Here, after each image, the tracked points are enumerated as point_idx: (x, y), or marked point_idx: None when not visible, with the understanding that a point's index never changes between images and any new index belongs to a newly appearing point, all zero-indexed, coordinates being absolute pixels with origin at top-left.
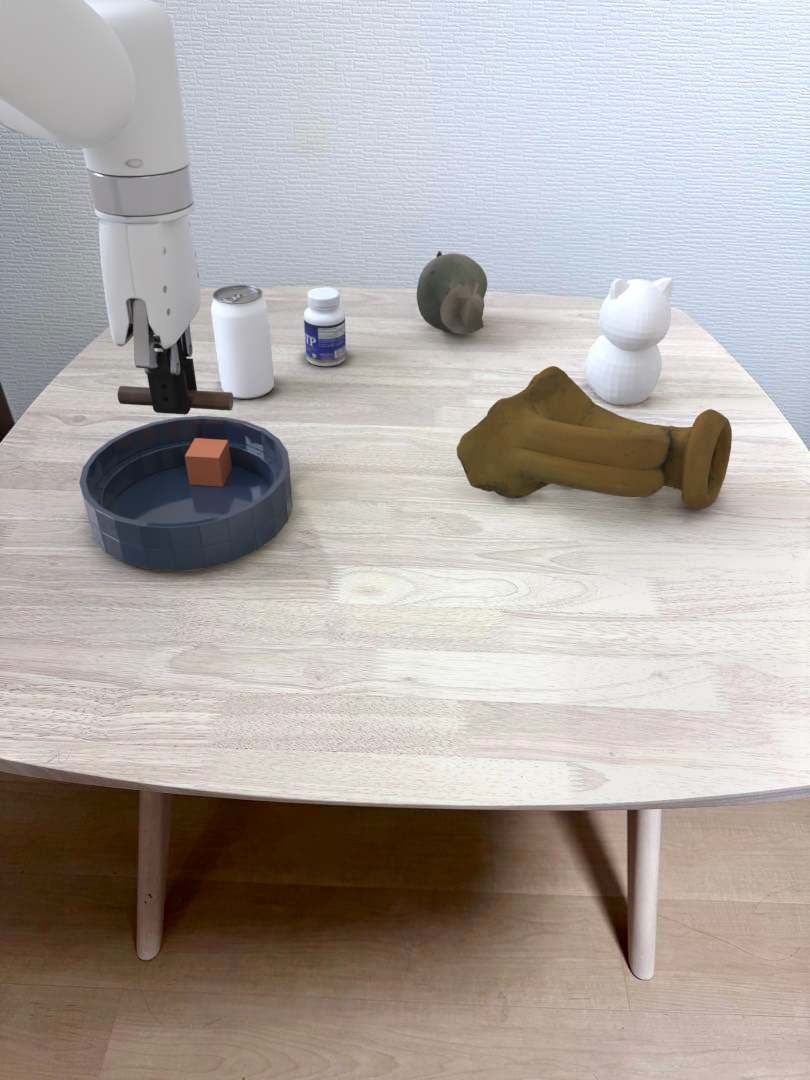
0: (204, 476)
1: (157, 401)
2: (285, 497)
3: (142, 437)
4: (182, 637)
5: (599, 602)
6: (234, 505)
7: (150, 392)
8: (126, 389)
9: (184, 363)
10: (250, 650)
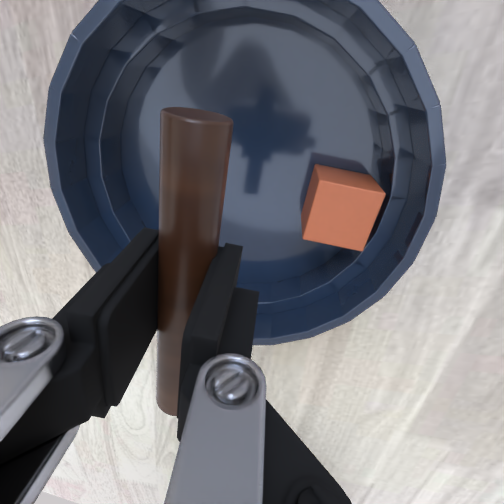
0: (308, 196)
1: (101, 267)
2: None
3: (404, 78)
4: (6, 180)
5: (127, 460)
6: (251, 232)
7: (117, 257)
8: (172, 153)
9: (178, 410)
10: (11, 248)
